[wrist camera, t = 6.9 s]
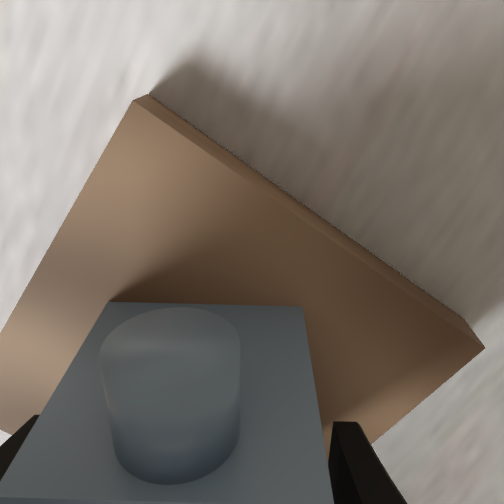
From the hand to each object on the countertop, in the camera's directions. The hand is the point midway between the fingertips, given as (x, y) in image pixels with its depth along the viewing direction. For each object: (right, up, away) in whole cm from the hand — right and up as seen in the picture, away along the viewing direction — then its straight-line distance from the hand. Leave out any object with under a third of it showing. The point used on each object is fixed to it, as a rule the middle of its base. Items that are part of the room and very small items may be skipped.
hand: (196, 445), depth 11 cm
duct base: (0, +2, +4) cm, 4 cm away
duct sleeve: (0, +1, +2) cm, 2 cm away
